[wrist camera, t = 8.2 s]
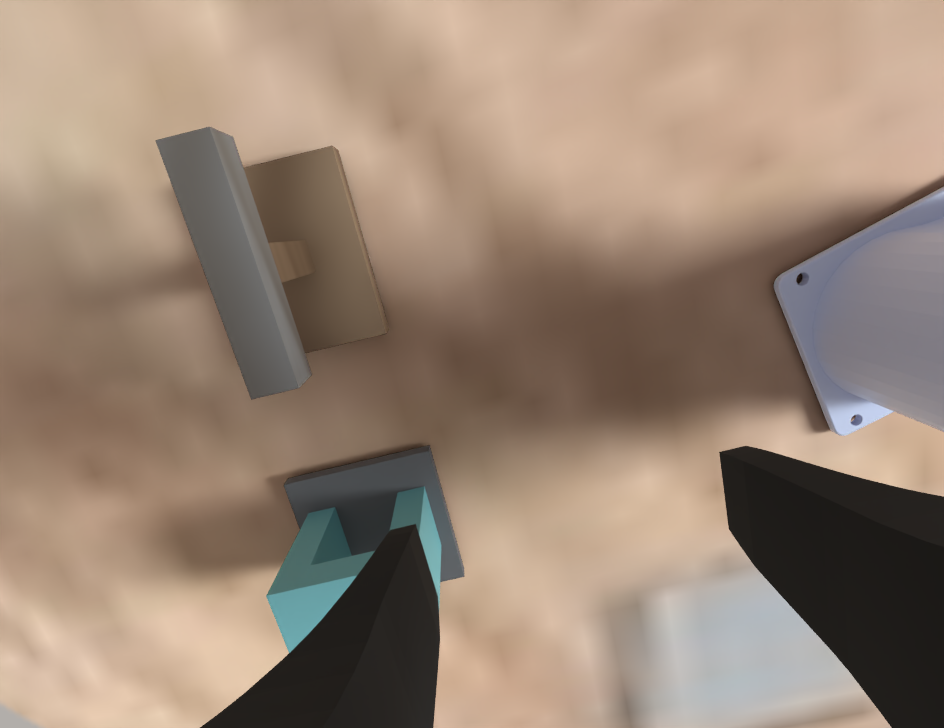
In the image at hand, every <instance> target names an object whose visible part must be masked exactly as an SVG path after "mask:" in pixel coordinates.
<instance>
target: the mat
mask: <svg viewBox="0 0 944 728" xmlns="http://www.w3.org/2000/svg"><path fill="white" fill-rule="evenodd" d="M424 486H425V490H426V493H427V497H428V500H429V504H430V507H431V511H432V514H433V517H434V521H435V524H436V528H437V531H438V535H439V538H440V542H441V572H440V582H442V581H447V580H451V579H456V578H460V577H464V566H463V563H462V559H461V556H460V552H459V549H458V545H457V541H456V538H455V534H454V531H453V527H452V524H451V520H450V516H449V513H448V509H447V506H446V502H445V499H444V495H443V491H442V488H441V484H440V481H439V477H438V474H437V470H436V466H435V463H434V459H433V456H432V452H431V449H430V445H428V446H424V447H420V448H416V449H411V450H407V451H403V452H399V453H394V454H390V455H386V456H382V457H377V458H373V459H369V460H365V461H360V462H356V463H352V464H348V465H343V466H339V467H335V468H331V469H326V470H322V471H318V472H314V473H309V474H305V475H301V476H297V477H292V478H288V479H287V481H286V482H285V484H284V487H285V490H286V493H287V495H288V498H289V501H290V504H291V506H292V509H293V512H294V514H295V517H296V520H297V522H298V525H299V528H300V529H301V527H302V525H303V523H304V521H305V519H306V517H307V515H308V513H311V512H316V511H320V510H324V509H329V508H333V507H335V508H336V511H337V514H338V517H339V520H340V523H341V525H342V528H343V531H344V534H345V537H346V540H347V543H348V546H349V549H350V552H351V555H352V556H354V555H358V554H363V553H367V552H371V551H375V550H376V549H377V548H378V546H379V545H380V543H381V542H382V541H383V539H384V538H385V536H386V535H387V534H388V533H389V531H390V527H391V522H392V517H393V512H394V507H395V503H396V498H397V493H398V492H402V491H406V490H411V489H415V488H419V487H424Z"/></svg>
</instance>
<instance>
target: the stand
mask: <svg viewBox="0 0 944 728" xmlns="http://www.w3.org/2000/svg"><path fill="white" fill-rule="evenodd" d="M156 143H157V146H158V148H159V151H160V154H161V157H162V159H163V162H164V165H165V167H166V170H167V173H168V176H169V178H170V181H171V184H172V186H173V189H174V192H175V194H176V197H177V200H178V203H179V205H180V208H181V211H182V213H183V216H184V219H185V221H186V224H187V227H188V230H189V232H190V235H191V238H192V240H193V243H194V246H195V249H196V251H197V254H198V257H199V259H200V262H201V265H202V267H203V270H204V273H205V276H206V278H207V281H208V284H209V286H210V289H211V292H212V294H213V297H214V300H215V303H216V305H217V308H218V311H219V313H220V316H221V319H222V322H223V324H224V327H225V330H226V332H227V335H228V338H229V340H230V343H231V346H232V349H233V351H234V354H235V357H236V359H237V362H238V365H239V367H240V370H241V373H242V376H243V378H244V381H245V384H246V386H247V389H248V392H249V395H250V397H251V399H256V398H260V397H264V396H268V395H272V394H277V393H281V392H285V391H289V390H293V389H297V388H300V386H301V385H302V384H303V383H304V382H305V381H306V380H307V379H308V378H309V377H310V376H311V375H312V373H311V370H310V367H309V364H308V361H307V358H306V355H305V353H308V352H312V351H317V350H321V349H325V348H329V347H333V346H337V345H341V344H346V343H350V342H354V341H358V340H362V339H366V338H370V337H375V336H379V335H383V334H386V333H387V331H388V330H389V327H388V324H387V320H386V316H385V313H384V309H383V306H382V302H381V299H380V295H379V292H378V288H377V285H376V281H375V278H374V274H373V271H372V267H371V264H370V260H369V257H368V253H367V250H366V246H365V243H364V239H363V236H362V232H361V229H360V225H359V222H358V218H357V214H356V211H355V207H354V204H353V200H352V197H351V193H350V190H349V186H348V183H347V179H346V176H345V172H344V169H343V165H342V162H341V158H340V155H339V151H338V150H337V149H336V148H335V147H333V146H329V147H325V148H321V149H317V150H313V151H309V152H305V153H301V154H297V155H293V156H289V157H285V158H281V159H277V160H273V161H269V162H265V163H261V164H257V165H253V166H249V167H246V168H243V165H242V162H241V159H240V156H239V153H238V150H237V147H236V144H235V141H234V138H233V136H230V135H228V134H225V133H223V132H221V131H218V130H216V129H214V128H211V127H206V128H202V129H199V130H195V131H191V132H187V133H183V134H179V135H175V136H171V137H167V138H163V139H159V140H156Z"/></svg>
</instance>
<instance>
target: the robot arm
mask: <svg viewBox="0 0 944 728" xmlns="http://www.w3.org/2000/svg"><path fill="white" fill-rule="evenodd" d="M800 273H801V274H802V276H803V279H802V281H801V282H800V283H799V284H797V282H796V278H797V276H798V275H799V274H800ZM774 290H775V293H776V295H777V298H778V300H779V303H780V305H781V308H782V310H783V313H784V315H785V318H786V320H787V323H788V325H789V328H790V330H791V333H792V336H793V338H794V341H795V343H796V346H797V348H798V351H799V353H800V356H801V358H802V361H803V363H804V366H805V368H806V371H807V373H808V376H809V378H810V381H811V383H812V386H813V388H814V391H815V393H816V396H817V398H818V401H819V403H820V406H821V408H822V411H823V413H824V416H825V418H826V421H827V423H828V426H829V428H830V429H831V431H833V432H834V433H836V434H838V435H842V436H845V435H848V434H850V433H852V432H854V431H856V430H858V429H860V428H862V427H864V426H866V425H868V424H870V423H872V422H874V421H876V420H878V419H880V418H882V417H884V416H886V415H888V414H890V413H892V412H897V413H899V414H902V415H904V416H906V417H909V418H911V419H914V420H916V421H919V422H921V423H924V424H926V425H928V426H931V427H933V428H936V429H938V430H941V431H943V432H944V187H942V188H940V189H938V190H936V191H934V192H933V193H931V194H929V195H927V196H925V197H923V198H921V199H919V200H918V201H916V202H914V203H912V204H910V205H908V206H906V207H905V208H903V209H901V210H899V211H897V212H895V213H893V214H892V215H890V216H888V217H886V218H884V219H882V220H880V221H879V222H877V223H875V224H873V225H871V226H869V227H867V228H865V229H864V230H862V231H860V232H858V233H856V234H854V235H852V236H851V237H849V238H847V239H845V240H843V241H841V242H839V243H838V244H836V245H834V246H832V247H830V248H828V249H826V250H825V251H823V252H821V253H819V254H817V255H815V256H813V257H812V258H810V259H808V260H806V261H804V262H802V263H800V264H798V265H797V266H795V267H793V268H791V269H789V270H787V271H785V272H784V273H782V274H780V275H779V276H778V277H777V278H776V280H775V282H774ZM854 415H856V417H855V419H854V420H853V421H852V422H851V418H852V417H853V416H854ZM719 453H720V461H721V469H722V477H723V485H724V493H725V501H726V509H727V517H728V525H729V530H730V531H731V533H732V534H733V536H734V537H735V539H736V540H737V542H738V543H739V545H740V546H741V547H742V549H743V550H744V552H745V553H746V555H747V556H748V557H749V559H750V560H751V561H752V563H753V564H754V566H755V567H756V568H757V569H758V570H759V571H760V573H761V574H762V575H763V576H764V577H765V578H766V579H767V580H768V581H769V583H770V584H771V585H772V586H773V587H774V588H775V589H776V590H777V591H778V593H779V594H780V595H781V596H782V597H783V598H784V599H785V600H786V601H787V602H788V604H789V605H790V606H791V607H792V608H793V609H794V610H795V611H796V612H797V613H798V614H799V616H800V617H801V618H802V619H803V620H804V621H805V622H806V623H807V624H808V625H809V626H810V628H811V629H812V630H813V631H814V632H815V633H816V634H817V635H818V636H819V637H820V638H821V640H822V641H823V642H824V643H825V644H826V645H827V646H828V647H829V648H830V649H831V650H832V652H833V653H834V654H835V655H836V656H837V658H838V659H839V660H840V661H841V662H842V663H843V665H844V666H845V667H846V668H847V669H848V670H849V672H850V673H851V674H852V676H853V677H854V678H855V680H856V681H857V682H858V683H859V685H860V686H861V687H862V689H863V690H864V691H865V693H866V694H867V695H868V697H869V698H870V699H871V701H872V702H873V703H874V704H875V706H876V707H877V708H878V710H879V711H880V712H881V714H882V715H883V716H884V718H885V719H886V720H887V722H888V723H889V724H890V726H891V727H892V728H944V497H942V496H937V495H932V494H927V493H921V492H917V491H912V490H907V489H903V488H898V487H894V486H890V485H886V484H882V483H878V482H874V481H870V480H866V479H862V478H859V477H855V476H851V475H848V474H844V473H840V472H837V471H833V470H830V469H827V468H823V467H820V466H816V465H813V464H810V463H806V462H803V461H800V460H796V459H793V458H790V457H786V456H783V455H780V454H776V453H773V452H769V451H766V450H762V449H758V448H753V447H749V446H743V447H739V448H735V449H731V450H726V451H722V452H719ZM439 644H440V628H439V606H438V595H437V592H436V588H435V585H434V582H433V579H432V575H431V572H430V569H429V565H428V562H427V559H426V556H425V552H424V549H423V546H422V543H421V539H420V536H419V533H418V529H417V526H416V524H413V525H409V526H405V527H400V528H396V529H392V530H390V531H389V533H388V534H387V535H386V536H385V538H384V539H383V541H382V542H381V543H380V545H379V546H378V548H377V549H376V550H375V552H374V553H373V555H372V556H371V557H370V559H369V560H368V562H367V563H366V564H365V566H364V567H363V568H362V570H361V571H360V572H359V574H358V575H357V576H356V578H355V579H354V580H353V582H352V583H351V584H350V586H349V587H348V588H347V589H346V591H345V592H344V593H343V594H342V595H341V597H340V598H339V599H338V600H337V602H336V603H335V604H334V605H333V606H332V608H331V609H330V610H329V611H328V612H327V614H326V615H325V616H324V617H323V618H322V620H321V621H320V622H319V623H318V624H317V625H316V626H315V627H314V628H313V629H312V631H311V632H310V633H309V634H308V635H307V636H306V637H305V638H304V639H303V640H302V641H301V642H300V643H299V644H298V645H297V646H296V647H295V648H294V649H293V650H292V651H291V652H290V653H289V654H288V655H287V656H286V657H285V658H284V659H283V660H282V661H281V662H279V663H278V664H277V665H276V666H275V667H274V668H273V669H272V670H270V671H269V672H268V673H267V674H266V675H265V676H264V677H262V678H261V679H260V680H259V681H258V682H257V683H256V684H255V685H253V686H252V687H251V688H250V689H249V690H248V691H247V692H246V693H244V694H243V695H242V696H241V697H239V698H238V699H237V700H236V701H234V702H233V703H232V704H231V705H229V706H228V707H227V708H226V709H224V710H223V711H222V712H220V713H219V714H218V715H217V716H215V717H214V718H213V719H211V720H210V721H209V722H207V723H206V724H204V725H203V726H202V727H200V728H433V722H434V710H435V697H436V685H437V672H438V659H439Z"/></svg>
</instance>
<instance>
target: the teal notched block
mask: <svg viewBox="0 0 944 728" xmlns="http://www.w3.org/2000/svg"><path fill="white" fill-rule="evenodd" d="M413 524H416V526H417V529H418V533H419V536H420V539H421V543H422V546H423V549H424V552H425V556H426V559H427V562H428V565H429V569H430V572H431V575H432V579H433V582H434V585H435V588H436V592H437V595H438V606H439V600H440V572H441V542H440V538H439V535H438V531H437V528H436V524H435V521H434V517H433V514H432V511H431V507H430V504H429V500H428V497H427V493H426V490H425V486H424V487H419V488H415V489H411V490H406V491H402V492H398V493H397V498H396V503H395V507H394V512H393V517H392V522H391V527H390V530H392V529H396V528H400V527H405V526H409V525H413ZM374 552H375V551H371V552H367V553H363V554H358V555H354V556H352V555H351V552H350V549H349V546H348V543H347V540H346V537H345V534H344V531H343V528H342V525H341V523H340V520H339V517H338V514H337V511H336V508H335V507H333V508H329V509H324V510H320V511H316V512H311V513H308V515H307V517H306V519H305V521H304V523H303V525H302V527H301V529H300V531H299V533H298V535H297V537H296V539H295V541H294V543H293V545H292V547H291V549H290V551H289V552H288V554H287V556H286V558H285V560H284V562H283V564H282V566H281V568H280V570H279V572H278V574H277V576H276V578H275V580H274V582H273V584H272V586H271V588H270V590H269V592H268V594H267V596H266V597H267V599H268V601H269V604H270V606H271V609H272V611H273V614H274V616H275V619H276V621H277V624H278V626H279V629H280V631H281V634H282V636H283V639H284V641H285V644H286V646H287V649H288V651H289V653H290V652H291V651H292V650H293V649H294V648H295V647H296V646H297V645H298V644H299V643H300V642H301V641H302V640H303V639H304V638H305V637H306V636H307V635H308V634H309V633H310V632H311V631H312V629H313V628H314V627H315V626H316V625H317V624H318V623H319V622H320V621H321V620H322V618H323V617H324V616H325V615H326V614H327V612H328V611H329V610H330V609H331V608H332V606H333V605H334V604H335V603H336V602H337V600H338V599H339V598H340V597H341V595H342V594H343V593H344V592H345V591H346V589H347V588H348V587H349V586H350V584H351V583H352V582H353V580H354V579H355V578H356V576H357V575H358V574H359V572H360V571H361V570H362V568H363V567H364V566H365V564H366V563H367V562H368V560H369V559H370V557H371V556H372V555H373V553H374Z"/></svg>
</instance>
